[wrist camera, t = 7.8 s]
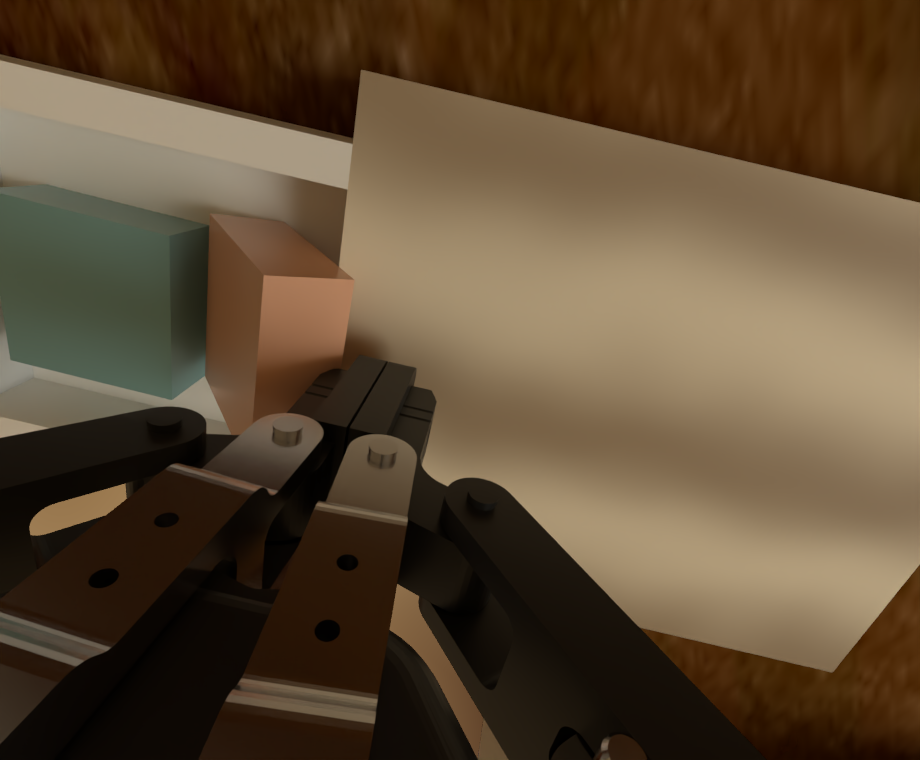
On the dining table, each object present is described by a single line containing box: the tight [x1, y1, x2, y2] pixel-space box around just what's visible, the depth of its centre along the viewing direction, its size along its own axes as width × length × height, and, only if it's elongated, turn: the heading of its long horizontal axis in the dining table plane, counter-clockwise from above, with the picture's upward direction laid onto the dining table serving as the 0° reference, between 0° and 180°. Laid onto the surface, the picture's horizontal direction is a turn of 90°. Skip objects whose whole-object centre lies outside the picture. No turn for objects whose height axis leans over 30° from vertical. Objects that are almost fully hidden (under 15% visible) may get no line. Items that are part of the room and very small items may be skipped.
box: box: [0, 54, 353, 438], centre depth 15 cm, size 11×12×3 cm
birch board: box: [339, 70, 920, 672], centre depth 15 cm, size 14×18×3 cm
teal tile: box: [0, 184, 209, 400], centre depth 15 cm, size 5×5×2 cm
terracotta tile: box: [205, 213, 355, 435], centre depth 14 cm, size 5×5×2 cm
